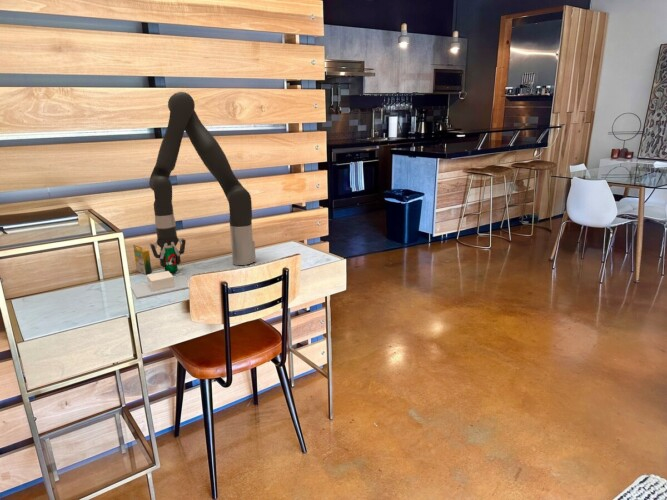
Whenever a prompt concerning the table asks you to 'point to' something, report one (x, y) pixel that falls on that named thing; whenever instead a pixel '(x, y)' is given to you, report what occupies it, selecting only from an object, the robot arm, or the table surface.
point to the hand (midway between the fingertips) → (170, 265)
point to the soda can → (170, 259)
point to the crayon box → (142, 260)
